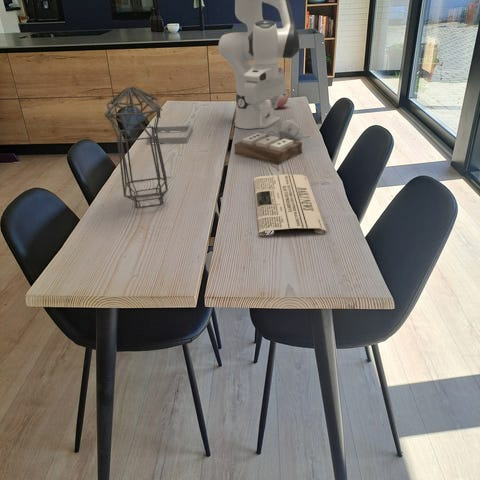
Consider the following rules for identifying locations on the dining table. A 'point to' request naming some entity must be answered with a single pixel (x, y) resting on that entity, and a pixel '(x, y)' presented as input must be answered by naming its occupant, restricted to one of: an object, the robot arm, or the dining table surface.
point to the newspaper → (286, 204)
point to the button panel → (268, 152)
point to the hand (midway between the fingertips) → (266, 111)
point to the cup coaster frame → (173, 139)
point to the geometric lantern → (155, 138)
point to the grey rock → (288, 129)
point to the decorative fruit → (281, 100)
